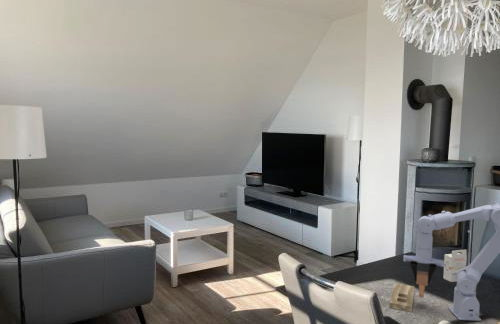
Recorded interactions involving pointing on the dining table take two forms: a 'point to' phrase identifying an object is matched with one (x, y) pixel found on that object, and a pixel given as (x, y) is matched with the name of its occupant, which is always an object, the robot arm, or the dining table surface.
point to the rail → (402, 297)
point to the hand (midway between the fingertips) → (422, 281)
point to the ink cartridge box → (454, 264)
